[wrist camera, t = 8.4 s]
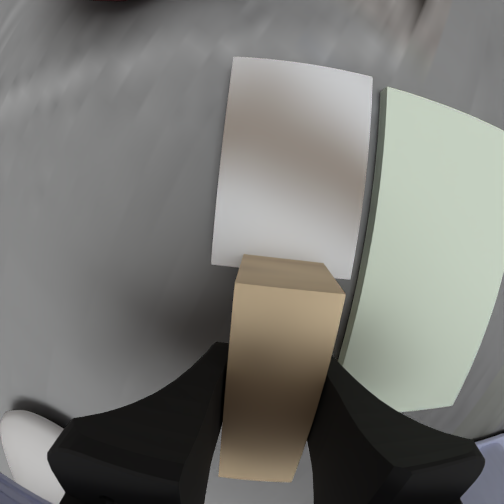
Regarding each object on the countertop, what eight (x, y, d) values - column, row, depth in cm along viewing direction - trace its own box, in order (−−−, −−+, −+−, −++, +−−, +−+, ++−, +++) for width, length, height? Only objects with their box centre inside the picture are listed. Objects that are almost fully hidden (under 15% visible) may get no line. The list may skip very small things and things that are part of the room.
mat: (446, 397, 14) (452, 405, 13) (324, 405, 14) (327, 414, 13) (510, 140, 11) (520, 139, 10) (380, 91, 11) (387, 86, 10)
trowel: (309, 422, 13) (319, 482, 9) (205, 412, 13) (190, 472, 9) (367, 81, 10) (408, 43, 6) (235, 62, 10) (222, 12, 6)
